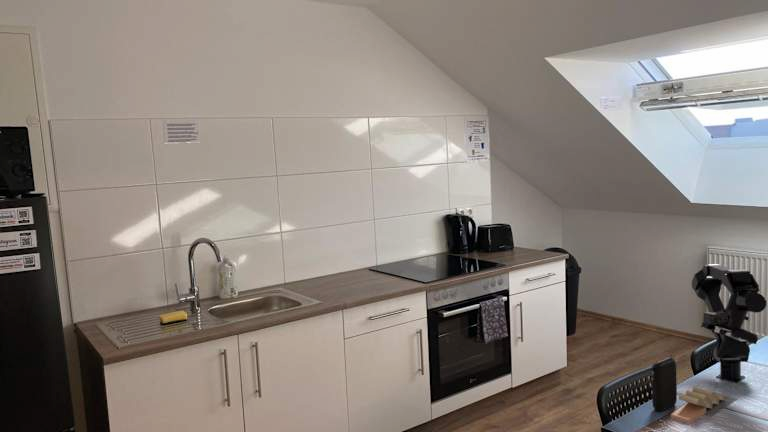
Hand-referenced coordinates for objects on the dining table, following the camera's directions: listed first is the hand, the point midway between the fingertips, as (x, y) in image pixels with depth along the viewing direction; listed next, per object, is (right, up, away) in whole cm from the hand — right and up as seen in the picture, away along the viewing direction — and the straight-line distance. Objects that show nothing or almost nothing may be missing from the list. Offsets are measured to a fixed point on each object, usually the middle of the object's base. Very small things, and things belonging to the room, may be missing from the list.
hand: (718, 357), depth 182 cm
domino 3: (-6, -11, -7) cm, 14 cm away
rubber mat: (-7, -12, -7) cm, 16 cm away
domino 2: (-13, -11, -12) cm, 21 cm away
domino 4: (-3, -10, -5) cm, 12 cm away
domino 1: (-10, -11, -9) cm, 18 cm away
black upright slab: (-21, -13, -9) cm, 26 cm away
